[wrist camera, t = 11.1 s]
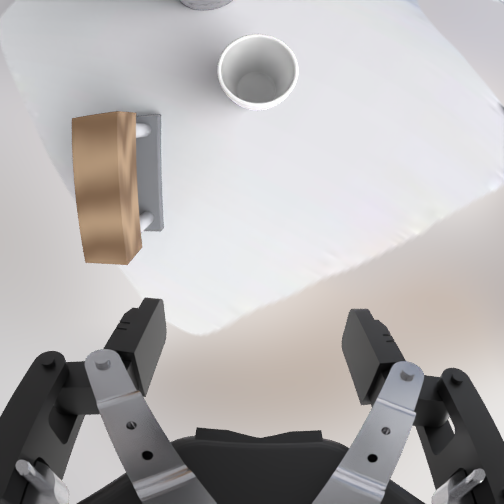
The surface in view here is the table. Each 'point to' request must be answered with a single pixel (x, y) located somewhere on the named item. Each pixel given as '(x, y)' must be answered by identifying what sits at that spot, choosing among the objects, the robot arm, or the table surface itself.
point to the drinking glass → (257, 71)
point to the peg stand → (149, 172)
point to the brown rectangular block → (107, 186)
